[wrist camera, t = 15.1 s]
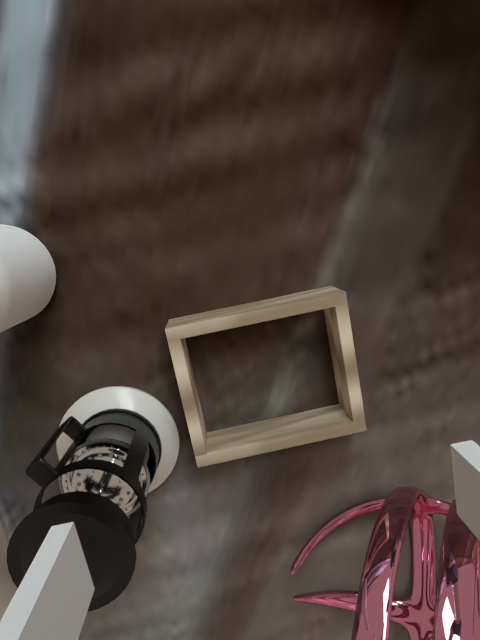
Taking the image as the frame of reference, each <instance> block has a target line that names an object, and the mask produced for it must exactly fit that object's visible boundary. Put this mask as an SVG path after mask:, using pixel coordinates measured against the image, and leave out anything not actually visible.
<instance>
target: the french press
mask: <svg viewBox="0 0 480 640" xmlns="http://www.w3.org/2000/svg"><path fill="white" fill-rule="evenodd" d="M110 424H112V425H121V426H124V427H127V428H130V429H132V430H134V431H136V432H135V434H134V437H133V440H132V443H131V445H129V444H128V443H125V442H123V441H119V440H115V439H107V438H104V439H95V440H91V441H88V442H86V440H87V438H88V436H89V435H90V433H91V432H92V431H93V430H94V429H96V428H97V427H99V426H101V425H110ZM62 432H64V433H65V434H66V435H67V436H69V437H70V438H71V439H72V440H73V442H72V444H71V445H70V447H69V448H68V450H67V451H66V453H65V454H64V456H63V457H62V459H61V460H60V462H59V463H58V465H57V466H56V468H55V469H54V468H53V467H52V466H51V465H50V464H48V463H47V462H46V461H45V460H44V457H45V455H46V454H47V453H48V451H49V450H50V449H51V447H52V446H53V445H54V443H55V442H56V441H57V439H58V438H59V436H60V435H61V434H62ZM148 445H149V459H148V462H147V464H146V462H145V460H144V458H145V454H146V451H147V447H148ZM161 454H162V445H161V440H160V437H159V434H158V432H157V430H156V429H155V427H154V426H153V425H152V424H151V422H150V421H149V420H147V419H146V418H145V417H144V416H142V415H140V414H138V413H136V412H134V411H131V410H127V409H120V408H115V409H107V410H103V411H100V412H98V413H96V414H94V415H92V416H91V417H89V418H88V419H87V420H85V421H84V423H83V424H81V423H80V422H79V421H78V420H77V419H76V418H74V417H73V416H71V417H69V418H68V419H67V420H66V421H65V422H64V423H63V424H61V425H60V426H59V427H58V429H57V430H56V431H55V433H54V434H53V435H52V436H51V438H50V439H49V440H48V442H47V443H46V444H45V445H44V447H43V448H42V449H41V451H40V452H39V453H38V454H37V456H36V457H35V458H34V460H33V461H32V462H31V463H30V465H29V466H28V467H27V469H26V471H25V472H26V474H27V475H28V476H29V477H30V478H32V479H33V480H34V481H35V482H36V483H37V484H39V485H40V486H41V487H42V489H41V491H40V493H39V495H38V497H37V498H36V502H35V505H34V510H33V512H31V513H30V514H29V515H27V516H26V517H25V518H24V519H23V520H22V522H21V523H20V524H19V525H18V526H17V528H16V529H15V531H14V533H13V535H12V537H11V538H10V542H9V545H8V549H7V564H8V570H9V573H10V575H11V578H12V580H13V582H14V583H15V585H16V586H17V588H18V587H19V586H20V584H21V582H22V580H23V578H24V576H25V574H26V573H27V571H28V569H29V567H30V565H31V563H32V561H33V560H34V558H35V556H36V554H37V552H38V550H39V548H40V547H41V545H42V543H43V541H44V539H45V537H46V535H47V534H48V532H49V530H50V528H51V526H55V525H60V524H65V523H70V522H74V524H75V528H76V531H77V534H78V537H79V540H80V544H81V547H82V550H83V553H84V556H85V560H86V563H87V566H88V569H89V572H90V576H91V579H92V582H93V585H94V588H95V590H94V593H93V596H92V599H91V602H90V605H89V608H88V611H92V610H96V609H98V608H101V607H103V606H105V605H107V604H109V603H110V602H111V601H113V600H114V599H116V598H117V597H118V596H119V595H120V594H121V593H122V592H123V591H124V590H125V588H126V587H127V585H128V583H129V582H130V580H131V578H132V575H133V572H134V569H135V562H136V549H135V544H136V543H137V541H138V539H139V538H140V536H141V533H142V530H143V527H144V523H145V519H146V512H147V503H146V498H147V494H148V491H149V486H150V485H151V483H152V481H153V479H154V476H155V473H156V469H157V468H158V466H159V463H160V460H161ZM58 477H59V486H60V491H61V493H62V494H59V495H56V496H54V497H52V498H50V499H48V500H47V501H46V502H44V503H43V504H42V505H41V502H42V497H43V493H44V490H45V488H46V487H47V486H48V485H49V484H50V483H51V482H52V481H54V480H55V479H56V478H58ZM130 514H131V516H130V519H128V517H127V516H128V515H130ZM142 516H143V518H142ZM141 519H142V523H141ZM140 523H141V526H140ZM88 611H87V612H88Z"/></svg>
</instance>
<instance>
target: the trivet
mask: <svg viewBox="0 0 480 640" xmlns="http://www.w3.org/2000/svg"><path fill="white" fill-rule="evenodd" d="M115 408H120V409H127V410H131V411H134V412H136V413H138V414H140V415H142V416H144V417H145V418H146V419H147V420H149V421H150V422H151V424H152V425H153V426H154V427H155V429H156V430H157V432H158V434H159V437H160V440H161V445H162V454H161V460H160V463H159V466H158V468H157V469H156V473H155V476H154V479H153V481H152V483H151V485H150V486H149V491H148V493H149V492H151V491H153V490H154V489H156V488H157V487H158V486H160V485H161V484H162V483H163V482H164V481H165V480H166V479H167V477H168V476H169V475H170V473H171V472H172V470H173V468H174V466H175V463H176V461H177V457H178V453H179V432H178V428H177V425H176V422H175V420H174V418H173V416H172V415H171V413H170V411H169V410H168V409H167V408H166V407H165V405H164V404H163V403H162V402H160V401H159V400H158V399H157V398H155V397H154V396H152V395H151V394H149V393H147V392H145V391H143V390H140V389H137V388H133V387H128V386H108V387H103V388H99V389H96V390H94V391H91V392H89V393H87V394H86V395H84V396H82V397H81V398H80V399H78V400H77V401H76V402H75V403H74V404H73V405H72V406H71V407H70V408H69V410H68V411H67V412H66V414H65V415H64V417H63V419H62V421H61V423H60V425H61V424H63V423H64V422H65V421H66V420H67V419H68V418H69V417H71V416H73V417H74V418H76V419H77V420H78V421H79V422H80V423H81V424H83V423H84V421H85V420H87V419H88V418H89V417H91V416H92V415H94V414H96V413H98V412H100V411H103V410H107V409H115ZM60 425H59V426H60ZM135 432H136V431H134V430H132V429H130V428H127V427H124V426H121V425H112V424H110V425H101V426H99V427H97V428H96V429H94V430H93V431H92V432H91V433H90V435H89V436H88V438H87V440H86V442H88V441H91V440H95V439H104V438H107V439H115V440H119V441H123V442H125V443H128V444H129V445H131V443H132V440H133V437H134V434H135ZM72 442H73V440H72V439H71V438H70V437H69V436H67V435H66V434H65V433H64V432H62V434H61V435H60V436H59V438H58V439H57V441H56V446H57V454H58V458H59V461H60V460H61V459H62V457H63V456H64V454H65V453H66V451H67V450H68V448H69V447H70V445H71V444H72ZM148 459H149V445H148V447H147V451H146V454H145V458H144V460H145V462H146V464H147V462H148Z"/></svg>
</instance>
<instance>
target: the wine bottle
mask: <svg viewBox="0 0 480 640" xmlns="http://www.w3.org/2000/svg"><path fill="white" fill-rule="evenodd" d="M55 285H56V270H55V265H54V262H53V259H52V257H51V255H50V253H49V252H48V250H47V249H46V247H45V246H44V245H43V244H42V243H41V242H40V241H39V240H38V239H37V238H36V237H34V236H33V235H32V234H30V233H29V232H27V231H25V230H23V229H21V228H17V227H14V226H10V225H0V332H3V331H5V330H7V329H9V328H11V327H13V326H15V325H17V324H19V323H21V322H23V321H26V320H28V319H30V318H32V317H33V316H35V315H37V314H38V313H39V312H41V311H42V310H43V309H44V308H45V307H46V305H47V304H48V302H49V301H50V299H51V297H52V295H53V293H54V289H55Z"/></svg>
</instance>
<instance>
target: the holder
mask: <svg viewBox="0 0 480 640" xmlns="http://www.w3.org/2000/svg"><path fill="white" fill-rule="evenodd" d="M322 309H324V314H325V320H326V326H327V332H328V338H329V344H330V351H331V357H332V363H333V369H334V375H335V381H336V388H337V394H338V400H339V404H336V405H332V406H327V407H322V408H318V409H313V410H308V411H304V412H299V413H295V414H290V415H285V416H281V417H276V418H272V419H267V420H262V421H258V422H253V423H248V424H244V425H239V426H235V427H230V428H225V429H221V430H216V431H212V432H207V431H206V426H205V422H204V418H203V413H202V409H201V405H200V400H199V396H198V391H197V387H196V383H195V378H194V374H193V370H192V365H191V361H190V356H189V352H188V348H187V343H186V339H185V338H188V337H193V336H197V335H202V334H207V333H212V332H217V331H221V330H226V329H231V328H236V327H240V326H245V325H250V324H255V323H260V322H264V321H269V320H274V319H279V318H284V317H288V316H293V315H298V314H303V313H307V312H312V311H317V310H322ZM165 332H166V336H167V341H168V345H169V349H170V353H171V357H172V362H173V366H174V370H175V374H176V379H177V383H178V387H179V391H180V395H181V400H182V404H183V408H184V412H185V417H186V421H187V425H188V429H189V433H190V438H191V442H192V446H193V450H194V455H195V459H196V463H197V467H203V466H208V465H212V464H217V463H221V462H226V461H230V460H235V459H240V458H244V457H249V456H253V455H258V454H262V453H267V452H271V451H276V450H281V449H285V448H290V447H294V446H299V445H303V444H308V443H313V442H317V441H322V440H326V439H331V438H335V437H340V436H344V435H349V434H354V433H358V432H363V431H367V429H366V422H365V416H364V409H363V403H362V396H361V389H360V383H359V376H358V370H357V363H356V356H355V350H354V343H353V337H352V330H351V323H350V317H349V310H348V304H347V297H346V292H345V291H343V290H340V289H338V288H335V287H333V286H328V287H324V288H319V289H314V290H309V291H304V292H299V293H295V294H290V295H285V296H280V297H275V298H271V299H266V300H261V301H256V302H251V303H246V304H242V305H237V306H232V307H227V308H222V309H218V310H213V311H208V312H203V313H198V314H193V315H189V316H184V317H179V318H174V319H169V321H168V323H167V326H166V328H165Z"/></svg>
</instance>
